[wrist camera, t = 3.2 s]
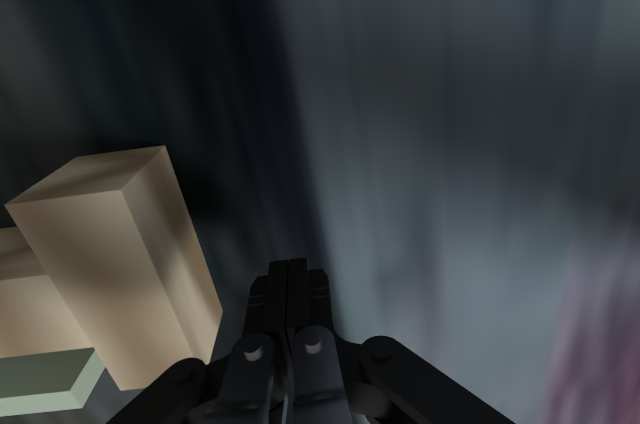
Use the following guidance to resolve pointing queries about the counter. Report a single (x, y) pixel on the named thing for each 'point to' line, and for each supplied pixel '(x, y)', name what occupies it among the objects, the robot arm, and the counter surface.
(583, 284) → the counter surface
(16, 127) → the counter surface
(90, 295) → the t block
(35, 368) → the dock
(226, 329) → the counter surface
